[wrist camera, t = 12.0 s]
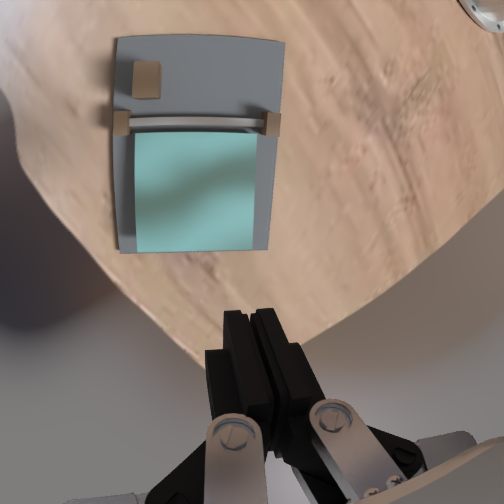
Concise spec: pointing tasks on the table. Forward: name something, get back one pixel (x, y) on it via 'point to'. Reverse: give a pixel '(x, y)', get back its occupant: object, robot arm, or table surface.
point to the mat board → (199, 108)
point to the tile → (194, 191)
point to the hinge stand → (149, 88)
